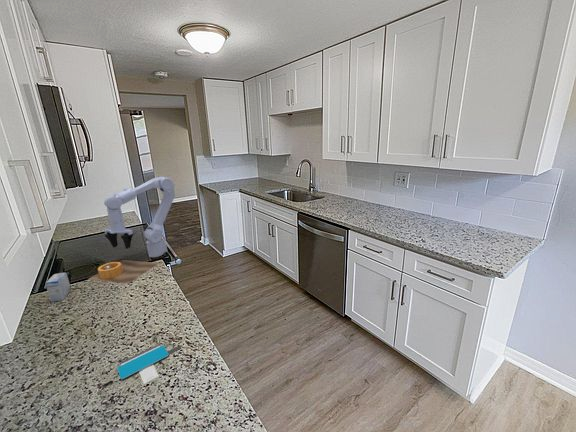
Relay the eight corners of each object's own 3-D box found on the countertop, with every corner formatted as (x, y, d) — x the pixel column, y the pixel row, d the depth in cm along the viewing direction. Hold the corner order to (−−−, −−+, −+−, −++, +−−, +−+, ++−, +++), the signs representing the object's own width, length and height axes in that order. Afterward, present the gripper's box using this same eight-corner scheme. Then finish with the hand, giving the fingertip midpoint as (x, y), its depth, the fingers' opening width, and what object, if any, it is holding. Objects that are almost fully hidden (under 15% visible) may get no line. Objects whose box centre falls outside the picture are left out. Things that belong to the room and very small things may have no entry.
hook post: (109, 272, 125) (107, 265, 124) (113, 273, 125) (111, 265, 123) (106, 274, 123) (104, 267, 122) (109, 275, 123) (107, 267, 122)
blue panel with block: (106, 407, 63) (105, 401, 63) (100, 375, 72) (98, 370, 72) (189, 361, 76) (188, 356, 75) (175, 339, 84) (174, 334, 84)
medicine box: (59, 292, 113) (53, 273, 110) (71, 289, 114) (66, 271, 112) (50, 302, 106) (44, 283, 103) (64, 299, 107) (58, 280, 105)
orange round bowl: (111, 268, 129) (109, 261, 128) (127, 270, 127) (125, 262, 126) (95, 278, 121) (92, 270, 119) (111, 279, 119) (109, 271, 117)
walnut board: (123, 262, 139) (122, 259, 138) (159, 265, 134) (159, 262, 133) (88, 282, 120) (87, 279, 120) (129, 286, 115) (128, 283, 115)
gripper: (96, 222, 126) (102, 249, 129) (122, 224, 123) (127, 251, 126) (109, 218, 132) (114, 244, 136) (134, 219, 129) (138, 245, 133)
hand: (121, 247), depth 132 cm, fingers open, 7 cm apart
